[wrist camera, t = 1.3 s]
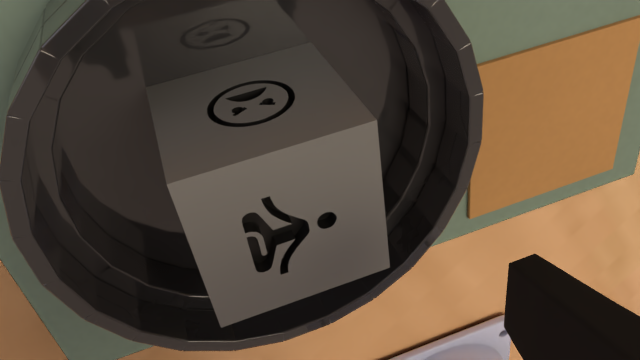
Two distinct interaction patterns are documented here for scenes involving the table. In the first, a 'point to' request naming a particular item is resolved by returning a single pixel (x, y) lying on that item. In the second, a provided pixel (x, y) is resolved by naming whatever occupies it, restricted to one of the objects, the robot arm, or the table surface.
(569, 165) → the desk mat
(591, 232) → the table surface
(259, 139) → the dice cube
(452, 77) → the frying pan
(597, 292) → the robot arm
